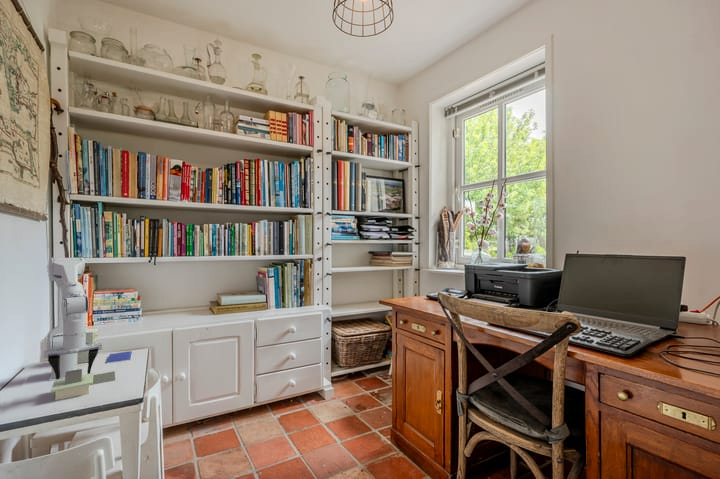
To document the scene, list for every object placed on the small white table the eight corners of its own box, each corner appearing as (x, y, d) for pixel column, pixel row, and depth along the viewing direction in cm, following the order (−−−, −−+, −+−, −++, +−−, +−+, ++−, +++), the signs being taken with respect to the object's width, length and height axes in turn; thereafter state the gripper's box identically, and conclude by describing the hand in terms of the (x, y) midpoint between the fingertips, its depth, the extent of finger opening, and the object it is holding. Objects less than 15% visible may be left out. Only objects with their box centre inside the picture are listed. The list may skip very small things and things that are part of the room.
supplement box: (70, 364, 137) (70, 333, 137) (77, 359, 143) (77, 329, 144) (92, 362, 140) (93, 331, 140) (98, 356, 146) (98, 327, 147)
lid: (54, 382, 110) (54, 371, 110) (93, 374, 116) (93, 364, 116) (50, 392, 102) (51, 380, 102) (92, 384, 108) (93, 372, 108)
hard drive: (109, 353, 147) (106, 362, 137) (131, 350, 151) (130, 358, 141) (109, 357, 147) (106, 366, 137) (131, 354, 151) (130, 362, 141)
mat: (77, 379, 121) (77, 377, 121) (114, 372, 128) (114, 371, 128) (74, 389, 113) (74, 388, 113) (115, 381, 119) (115, 380, 119)
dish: (58, 392, 110) (58, 382, 110) (89, 386, 115) (90, 376, 115) (55, 401, 103) (55, 390, 103) (88, 394, 108) (88, 384, 108)
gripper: (42, 340, 102) (41, 385, 102) (102, 332, 111) (101, 374, 110) (45, 335, 108) (44, 377, 107) (102, 328, 116) (102, 368, 116)
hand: (73, 375), depth 109 cm, fingers open, 7 cm apart
